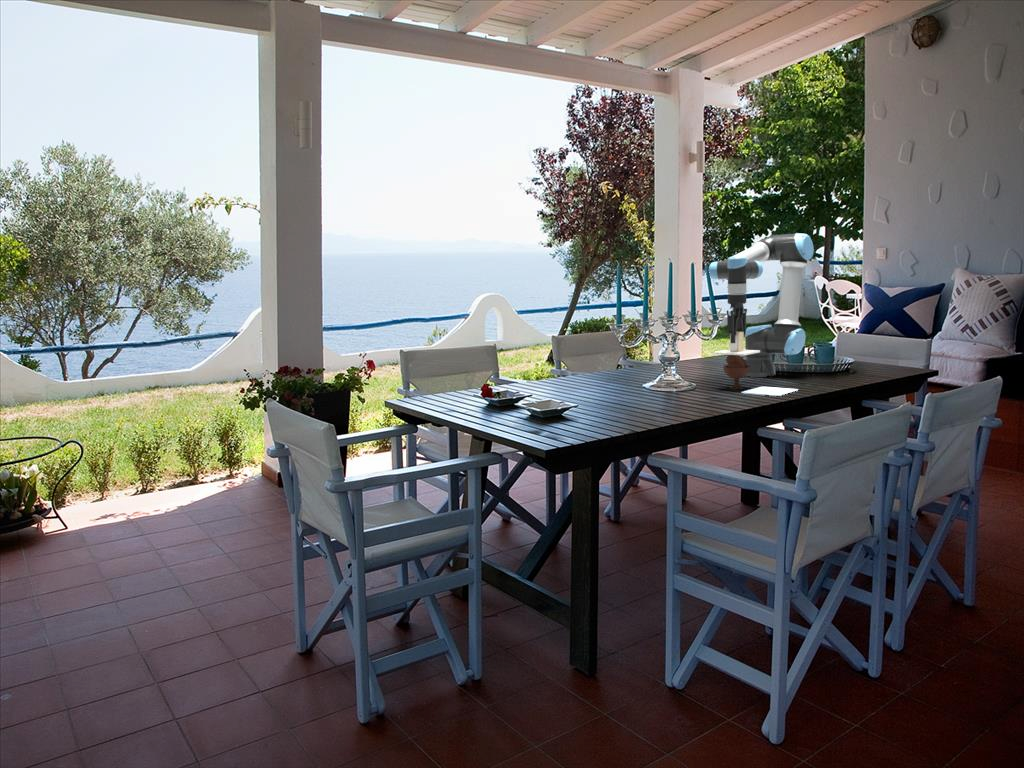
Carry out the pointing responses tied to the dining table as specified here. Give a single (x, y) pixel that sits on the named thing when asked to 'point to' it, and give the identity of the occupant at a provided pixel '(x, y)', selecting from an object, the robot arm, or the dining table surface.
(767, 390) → the mat
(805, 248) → the robot arm
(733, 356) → the ice cream bowl
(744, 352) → the lid
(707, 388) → the dining table surface
